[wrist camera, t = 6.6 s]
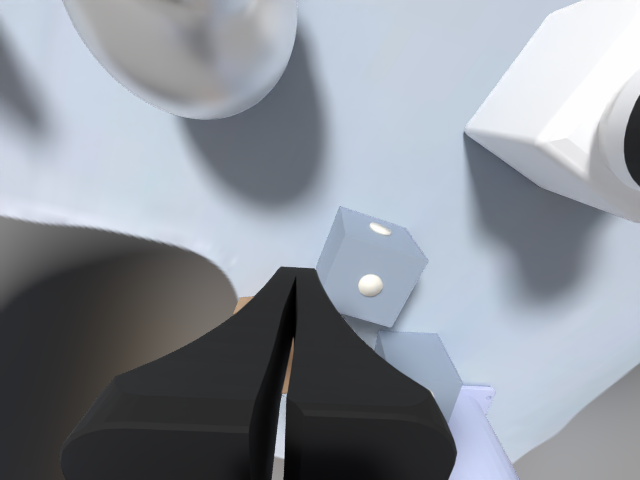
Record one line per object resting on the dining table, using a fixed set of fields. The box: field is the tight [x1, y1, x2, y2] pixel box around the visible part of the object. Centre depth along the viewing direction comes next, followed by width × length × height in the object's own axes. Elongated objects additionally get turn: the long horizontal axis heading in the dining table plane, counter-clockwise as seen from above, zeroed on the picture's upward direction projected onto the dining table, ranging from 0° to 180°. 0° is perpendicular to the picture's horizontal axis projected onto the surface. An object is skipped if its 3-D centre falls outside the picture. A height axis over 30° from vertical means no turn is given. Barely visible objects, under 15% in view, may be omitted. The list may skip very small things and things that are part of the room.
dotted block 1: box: [316, 206, 428, 328], centre depth 20 cm, size 5×5×5 cm
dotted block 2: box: [375, 331, 463, 424], centre depth 24 cm, size 5×5×5 cm
